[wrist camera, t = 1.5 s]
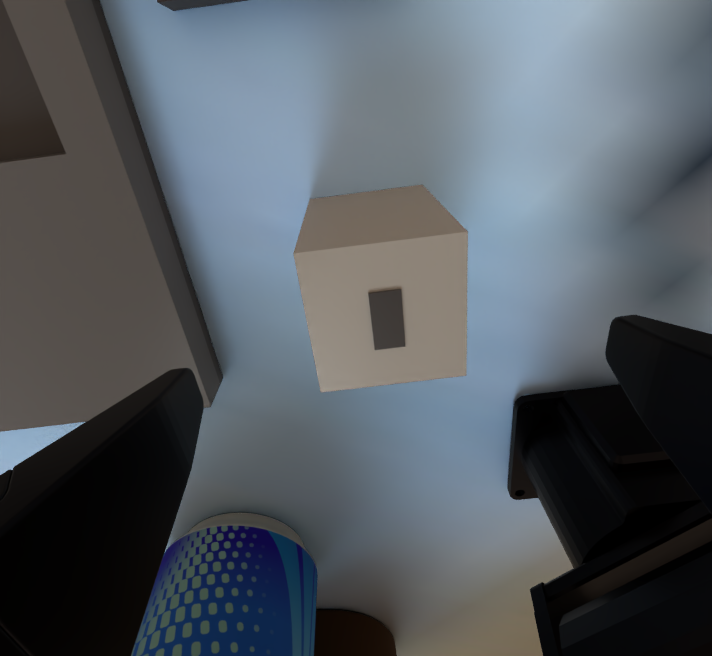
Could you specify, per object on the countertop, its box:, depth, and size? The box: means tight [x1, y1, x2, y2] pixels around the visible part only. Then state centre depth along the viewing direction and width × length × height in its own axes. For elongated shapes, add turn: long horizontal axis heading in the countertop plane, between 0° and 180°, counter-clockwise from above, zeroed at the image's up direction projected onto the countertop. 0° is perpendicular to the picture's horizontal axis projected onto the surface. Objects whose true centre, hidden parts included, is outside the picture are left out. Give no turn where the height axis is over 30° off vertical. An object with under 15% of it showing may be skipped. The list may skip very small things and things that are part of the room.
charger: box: [293, 185, 468, 392], centre depth 13 cm, size 4×4×6 cm
